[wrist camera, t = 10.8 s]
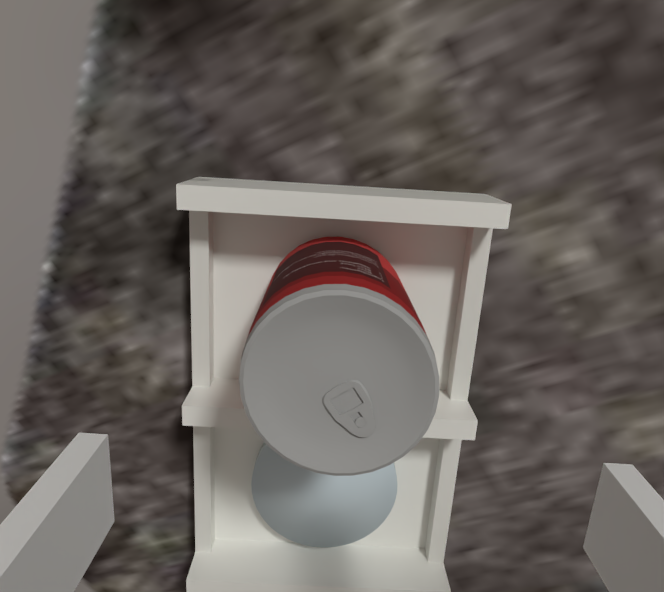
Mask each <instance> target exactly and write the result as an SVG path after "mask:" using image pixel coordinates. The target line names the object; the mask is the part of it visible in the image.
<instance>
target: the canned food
mask: <svg viewBox="0 0 664 592" xmlns="http://www.w3.org/2000/svg"><path fill="white" fill-rule="evenodd" d="M239 386H240V394H241V400H242V403H243V406H244V409H245V412H246V415H247V417H248V419H249V421H250V423H251V424H252V426H253V428H254V430H255V431H256V433H257V434H258V435H259V436H260V437H261V439H262V440H263V441H264V442H265V443H266V444H267V446H268V447H270V448H271V449H272V450H273V451H275V452H276V453H277V454H278V455H280V456H281V457H282V458H284V459H286V460H287V461H289V462H291V463H293V464H295V465H296V466H298V467H301V468H304V469H307V470H310V471H313V472H315V473H320V474H327V475H333V476H354V475H359V474H364V473H370V472H373V471H376V470H379V469H381V468H384V467H386V466H389V465H391V464H392V463H394V462H395V461H397V460H399V459H400V458H402V457H404V456H405V455H406V454H407V453H408V452H409V451H410V450H411V449H412V448H414V447H415V446H416V445H417V444H418V443H419V441H420V440H421V438H422V437H423V436H424V434H425V433H426V432H427V430H428V428H429V426H430V424H431V422H432V420H433V417H434V415H435V413H436V408H437V404H438V399H439V373H438V368H437V363H436V358H435V353H434V351H433V348H432V346H431V344H430V341H429V339H428V337H427V334H426V332H425V330H424V327H423V325H422V323H421V321H420V319H419V317H418V315H417V313H416V311H415V309H414V307H413V305H412V303H411V301H410V299H409V297H408V295H407V293H406V291H405V289H404V287H403V285H402V283H401V281H400V279H399V277H398V274H397V273H396V271H395V270H394V268H393V267H392V265H391V264H390V263H389V261H388V260H387V259H386V258H385V257H384V256H382V255H381V254H380V253H379V252H378V251H377V250H375V249H373V248H372V247H370V246H369V245H367V244H365V243H362V242H360V241H357V240H355V239H351V238H345V237H340V236H339V237H322V238H318V239H313V240H310V241H308V242H306V243H304V244H301V245H299V246H298V247H297V248H295V249H294V250H292V251H291V252H290V253H288V255H287V256H286V257H285V258H284V259H283V260H282V261H281V262H280V264H279V265H278V267H277V269H276V270H275V272H274V274H273V276H272V278H271V281H270V283H269V285H268V288H267V290H266V293H265V295H264V297H263V300H262V302H261V304H260V307H259V309H258V312H257V314H256V316H255V319H254V321H253V323H252V326H251V328H250V331H249V334H248V337H247V340H246V343H245V346H244V349H243V352H242V355H241V364H240V374H239Z"/></svg>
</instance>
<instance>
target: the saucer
mask: <svg viewBox="0 0 664 592" xmlns="http://www.w3.org/2000/svg"><path fill="white" fill-rule="evenodd" d="M251 486H252V495H253V500H254V503H255V505H256V508H257V510H258V512H259V513H260V515H261V517H262V518H263V519H264V521H265V522H266V523H267V524H268V525H269V526H270V527H271V528H272V529H273V530H275V531H276V532H277V533H278V534H280V535H282V536H283V537H285V538H287V539H289V540H291V541H293V542H296V543H299V544H302V545H307V546H312V547H337V546H342V545H347V544H350V543H353V542H356V541H358V540H360V539H362V538H364V537H366V536H367V535H369V534H371V533H372V532H373V531H374V530H376V529H377V528H378V527H379V526H380V525H381V524H382V523H383V522H384V521H385V519H386V518H387V517H388V515H389V514H390V512H391V510H392V508H393V505H394V503H395V500H396V495H397V475H396V470H395V465H394V463H392V464H391V465H389V466H386V467H384V468H381V469H379V470H376V471H373V472H370V473H364V474H359V475H354V476H333V475H327V474H320V473H315V472H313V471H310V470H307V469H304V468H301V467H298V466H296V465H295V464H293V463H291V462H289V461H287V460H286V459H284V458H282V457H281V456H280V455H278V454H277V453H276V452H275V451H273V450H272V449H271V448H270V447H268V446H267V444H266V443H265V442H264V443H263V445H262V447H261V448H260V450H259V453H258V455H257V458H256V462H255V466H254V470H253V474H252V483H251Z"/></svg>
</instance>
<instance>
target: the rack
mask: <svg viewBox="0 0 664 592" xmlns="http://www.w3.org/2000/svg"><path fill="white" fill-rule="evenodd" d="M176 195H177V210H189V232H190V286H191V340H192V388H191V390H190V392H189V393H188V395H187V397H186V399H185V401H184V403H183V404H182V426H193V448H194V502H195V554H194V558H193V561H192V564H191V567H190V570H189V573H188V576H187V579H186V592H451V590H450V586H449V582H448V578H447V575H446V571H445V567H444V563H443V562H444V555H445V548H446V542H447V535H448V528H449V521H450V515H451V508H452V501H453V494H454V488H455V481H456V474H457V467H458V461H459V454H460V447H461V440H475V436H476V429H477V423H478V420H477V418H476V416H475V414H474V412H473V411H472V409H471V407H470V405H469V403H468V401H467V400H468V393H469V386H470V379H471V373H472V366H473V359H474V352H475V346H476V339H477V332H478V325H479V319H480V312H481V305H482V298H483V291H484V285H485V278H486V271H487V264H488V258H489V251H490V244H491V237H492V231H493V228H498V229H508V224H509V218H510V211H511V205H512V204H510V203H507V202H505V201H502V200H499V199H497V198H494V197H492V196H489V195H487V194H477V193H460V192H443V191H427V190H410V189H393V188H377V187H360V186H343V185H327V184H310V183H293V182H277V181H260V180H243V179H227V178H210V177H197V178H194V179H191V180H188V181H185V182H182V183H179V184H176ZM339 236H340V237H345V238H351V239H355V240H357V241H360V242H362V243H365V244H367V245H369V246H370V247H372V248H373V249H375V250H377V251H378V252H379V253H380V254H381V255H382V256H384V257H385V258H386V259H387V260H388V261H389V263H390V264H391V265H392V267H393V268H394V270H395V271H396V273H397V274H398V277H399V279H400V281H401V283H402V285H403V287H404V289H405V291H406V293H407V295H408V297H409V299H410V301H411V303H412V305H413V307H414V309H415V311H416V313H417V315H418V317H419V319H420V321H421V323H422V325H423V327H424V330H425V332H426V334H427V337H428V339H429V341H430V344H431V346H432V348H433V351H434V353H435V358H436V363H437V368H438V373H439V399H438V404H437V408H436V413H435V415H434V417H433V420H432V422H431V424H430V426H429V428H428V430H427V432H426V433H425V434H424V436H423V437H422V438H421V440H420V441H419V443H418V444H417V445H416V446H415V447H414V448H412V449H411V450H410V451H409V452H408V453H407V454H406V455H405V456H404V457H402V458H400V459H399V460H397V461H395V462H394V465H395V470H396V475H397V495H396V500H395V503H394V505H393V508H392V510H391V512H390V514H389V515H388V517H387V518H386V519H385V521H384V522H383V523H382V524H381V525H380V526H379V527H378V528H377V529H376V530H374V531H373V532H372V533H371V534H369V535H367V536H366V537H364V538H362V539H360V540H358V541H356V542H353V543H350V544H347V545H342V546H337V547H312V546H307V545H302V544H299V543H296V542H293V541H291V540H289V539H287V538H285V537H283V536H282V535H280V534H278V533H277V532H276V531H275V530H273V529H272V528H271V527H270V526H269V525H268V524H267V523H266V522H265V521H264V519H263V518H262V517H261V515H260V513H259V512H258V510H257V508H256V505H255V503H254V500H253V495H252V486H251V483H252V474H253V470H254V466H255V462H256V458H257V455H258V453H259V450H260V448H261V447H262V445H263V443H264V441H263V440H262V439H261V437H260V436H259V435H258V434H257V433H256V431H255V430H254V428H253V426H252V424H251V423H250V421H249V419H248V417H247V415H246V412H245V409H244V406H243V403H242V400H241V394H240V386H239V374H240V364H241V355H242V352H243V349H244V346H245V343H246V340H247V337H248V334H249V331H250V328H251V326H252V323H253V321H254V319H255V316H256V314H257V312H258V309H259V307H260V304H261V302H262V300H263V297H264V295H265V293H266V290H267V288H268V285H269V283H270V281H271V278H272V276H273V274H274V272H275V270H276V269H277V267H278V265H279V264H280V262H281V261H282V260H283V259H284V258H285V257H286V256H287V255H288V253H290V252H291V251H292V250H294V249H295V248H297V247H298V246H299V245H301V244H304V243H306V242H308V241H310V240H313V239H318V238H322V237H339Z"/></svg>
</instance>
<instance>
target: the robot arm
mask: <svg viewBox="0 0 664 592" xmlns="http://www.w3.org/2000/svg"><path fill="white" fill-rule="evenodd" d="M113 523H114V509H113V495H112V482H111V468H110V455H109V442H108V434H91V433H78V434H77V436H76V437H75V438H74V439H73V440H72V441H71V443H70V444H69V445H68V446H67V447H66V448H65V450H64V451H63V452H62V453H61V454H60V455H59V457H58V458H57V459H56V460H55V461H54V462H53V464H52V465H51V466H50V467H49V468H48V469H47V471H46V472H45V473H44V474H43V475H42V476H41V478H40V479H39V480H38V481H37V482H36V484H35V485H34V486H33V487H32V488H31V489H30V491H29V492H28V493H27V494H26V495H25V496H24V498H23V499H22V500H21V501H20V502H19V503H18V505H17V506H16V507H15V508H14V509H13V510H12V512H11V513H10V514H9V515H8V516H7V517H6V519H5V520H4V521H3V522H2V523H1V525H0V592H74V591H75V589H76V588H77V586H78V584H79V582H80V581H81V579H82V577H83V575H84V574H85V572H86V570H87V568H88V567H89V565H90V563H91V561H92V560H93V558H94V556H95V554H96V553H97V551H98V549H99V547H100V546H101V544H102V542H103V540H104V539H105V537H106V535H107V533H108V532H109V530H110V528H111V526H112V525H113ZM583 548H584V550H585V552H586V554H587V555H588V557H589V559H590V560H591V562H592V564H593V565H594V567H595V569H596V571H597V572H598V574H599V576H600V577H601V579H602V581H603V582H604V584H605V586H606V588H607V589H608V591H609V592H664V500H663V499H662V498H661V497H660V496H659V494H658V493H657V492H656V491H655V490H654V489H653V488H652V486H651V485H650V484H649V483H648V482H647V481H646V480H645V478H644V477H643V476H642V475H641V474H640V473H639V472H638V470H637V469H636V468H635V467H634V466H633V465H631V464H614V463H603V467H602V472H601V476H600V480H599V484H598V488H597V492H596V496H595V500H594V504H593V508H592V512H591V517H590V521H589V525H588V529H587V533H586V537H585V541H584V545H583Z"/></svg>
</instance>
